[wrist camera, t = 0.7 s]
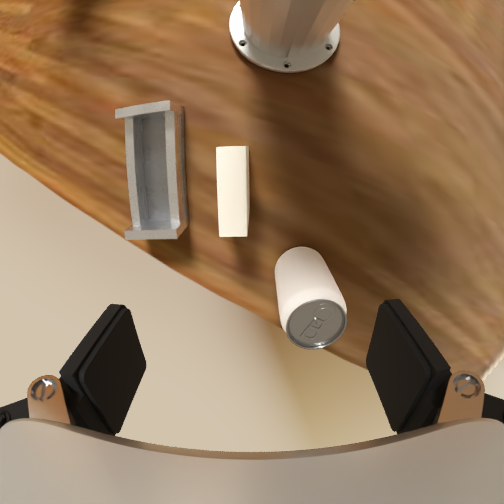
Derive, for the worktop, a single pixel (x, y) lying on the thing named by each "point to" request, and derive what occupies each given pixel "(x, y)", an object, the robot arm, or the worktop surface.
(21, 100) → the worktop surface
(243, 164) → the plain white block
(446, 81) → the worktop surface
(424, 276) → the worktop surface
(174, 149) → the track
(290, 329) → the can
